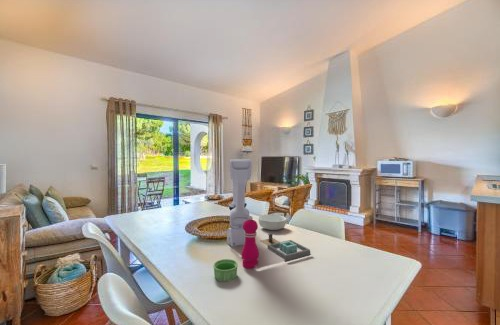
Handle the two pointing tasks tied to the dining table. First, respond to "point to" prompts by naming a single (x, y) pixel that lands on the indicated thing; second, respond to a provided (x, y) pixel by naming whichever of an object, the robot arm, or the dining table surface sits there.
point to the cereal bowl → (272, 222)
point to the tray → (292, 255)
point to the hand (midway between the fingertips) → (238, 217)
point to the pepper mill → (250, 244)
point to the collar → (288, 247)
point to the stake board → (269, 240)
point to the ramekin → (225, 269)
